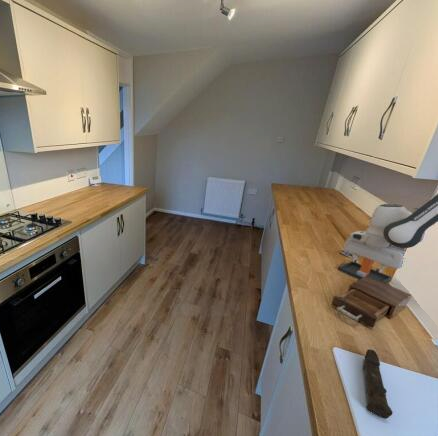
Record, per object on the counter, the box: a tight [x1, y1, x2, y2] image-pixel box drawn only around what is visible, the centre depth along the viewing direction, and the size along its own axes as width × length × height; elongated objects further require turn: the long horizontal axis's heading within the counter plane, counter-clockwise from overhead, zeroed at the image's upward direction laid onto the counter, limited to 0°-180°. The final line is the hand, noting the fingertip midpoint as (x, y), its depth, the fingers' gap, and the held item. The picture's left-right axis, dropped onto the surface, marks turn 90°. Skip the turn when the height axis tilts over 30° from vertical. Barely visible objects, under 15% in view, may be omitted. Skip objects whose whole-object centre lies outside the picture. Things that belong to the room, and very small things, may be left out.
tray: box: [337, 260, 392, 284], centre depth 109 cm, size 15×12×2 cm
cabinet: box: [346, 276, 412, 320], centre depth 91 cm, size 14×14×6 cm
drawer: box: [330, 289, 390, 329], centre depth 85 cm, size 17×12×4 cm
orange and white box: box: [356, 257, 375, 277], centre depth 107 cm, size 3×6×8 cm, turn 117°
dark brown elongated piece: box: [362, 348, 394, 419], centre depth 61 cm, size 19×4×5 cm, turn 142°
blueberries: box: [340, 249, 359, 259], centre depth 126 cm, size 7×8×2 cm
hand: (366, 267), depth 108 cm, fingers open, 7 cm apart
